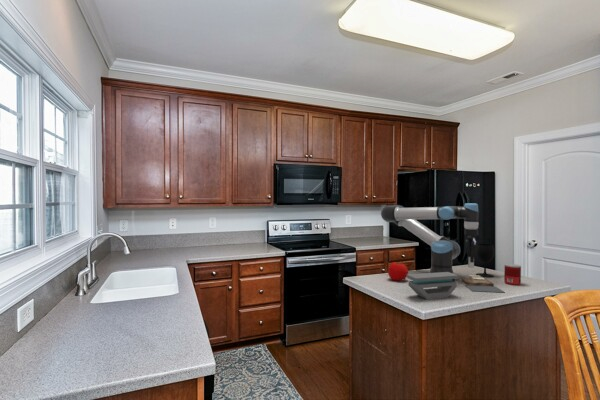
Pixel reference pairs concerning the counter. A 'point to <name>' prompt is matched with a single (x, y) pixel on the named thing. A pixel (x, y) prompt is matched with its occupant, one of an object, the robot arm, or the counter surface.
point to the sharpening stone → (433, 284)
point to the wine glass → (485, 257)
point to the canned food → (512, 274)
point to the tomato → (398, 271)
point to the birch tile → (477, 278)
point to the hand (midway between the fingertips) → (471, 267)
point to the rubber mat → (484, 289)
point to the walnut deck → (469, 282)
